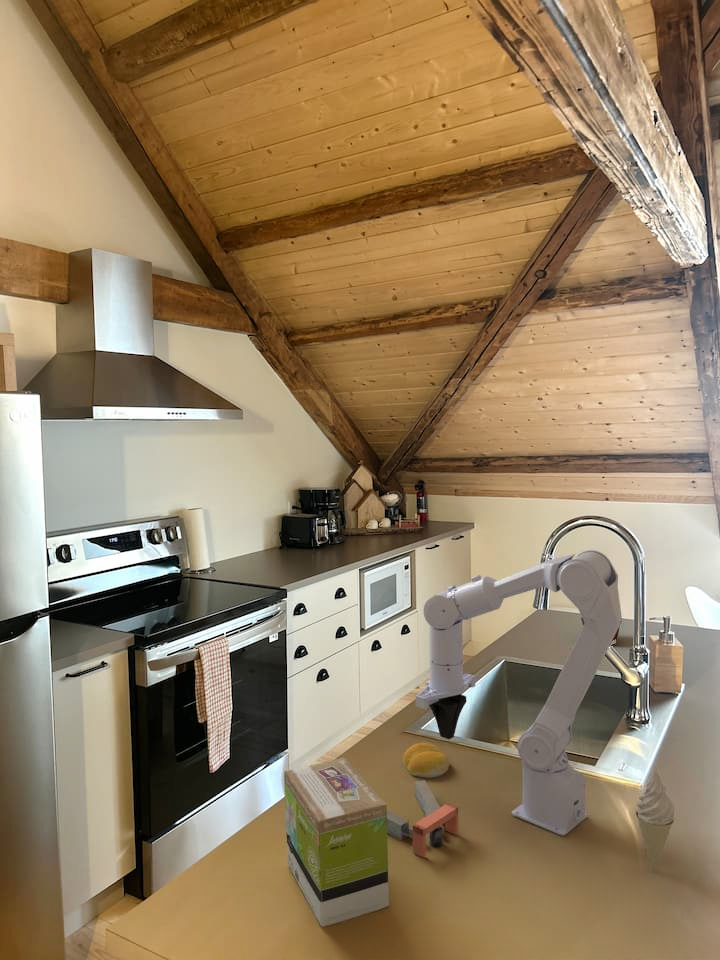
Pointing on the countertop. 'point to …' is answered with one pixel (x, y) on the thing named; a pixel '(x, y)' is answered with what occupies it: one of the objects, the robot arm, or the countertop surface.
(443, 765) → the bread roll
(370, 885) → the tea box
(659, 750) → the countertop surface
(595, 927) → the countertop surface
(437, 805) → the bar
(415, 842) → the pink bridge block
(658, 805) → the ice cream cone
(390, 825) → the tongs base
